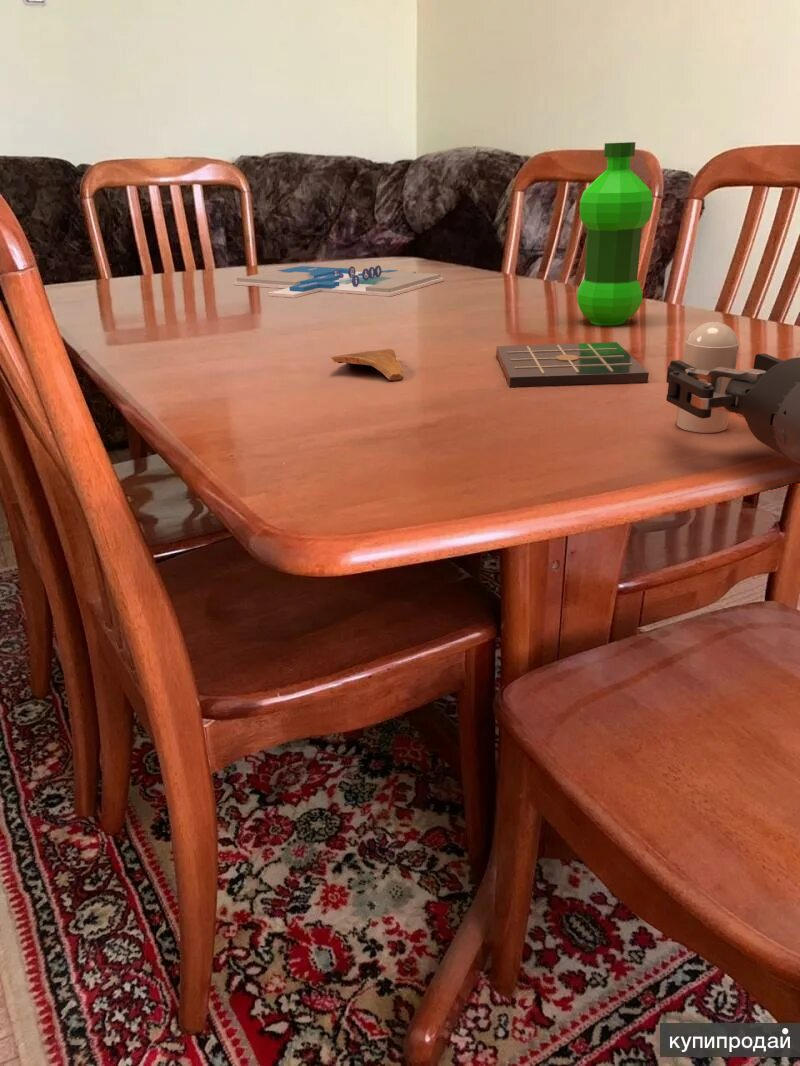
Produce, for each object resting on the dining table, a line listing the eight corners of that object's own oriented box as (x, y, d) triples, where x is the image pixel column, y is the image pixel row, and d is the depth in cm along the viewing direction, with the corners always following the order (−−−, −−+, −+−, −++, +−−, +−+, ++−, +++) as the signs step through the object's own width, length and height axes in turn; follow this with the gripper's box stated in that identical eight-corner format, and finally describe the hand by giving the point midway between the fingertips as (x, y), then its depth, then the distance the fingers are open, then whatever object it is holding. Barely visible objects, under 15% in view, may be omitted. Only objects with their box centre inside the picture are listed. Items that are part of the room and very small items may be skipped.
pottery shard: (401, 382, 100) (400, 362, 99) (326, 381, 101) (325, 361, 100) (413, 361, 109) (413, 342, 108) (345, 360, 110) (344, 341, 109)
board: (616, 351, 110) (617, 341, 110) (648, 382, 96) (649, 371, 95) (496, 354, 110) (496, 345, 110) (509, 387, 96) (510, 375, 95)
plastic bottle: (636, 315, 131) (650, 141, 121) (645, 328, 122) (662, 141, 111) (571, 315, 132) (580, 143, 122) (576, 329, 123) (586, 144, 112)
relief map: (366, 303, 149) (365, 283, 148) (206, 290, 169) (204, 272, 168) (449, 279, 172) (449, 261, 170) (299, 270, 192) (298, 254, 190)
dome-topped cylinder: (717, 417, 83) (731, 316, 79) (734, 432, 79) (750, 326, 75) (669, 418, 83) (680, 318, 79) (684, 433, 79) (696, 328, 75)
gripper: (917, 362, 63) (791, 322, 77) (743, 377, 61) (647, 332, 75) (895, 456, 66) (778, 400, 80) (729, 472, 64) (639, 412, 78)
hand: (715, 367), depth 78 cm, fingers open, 8 cm apart
